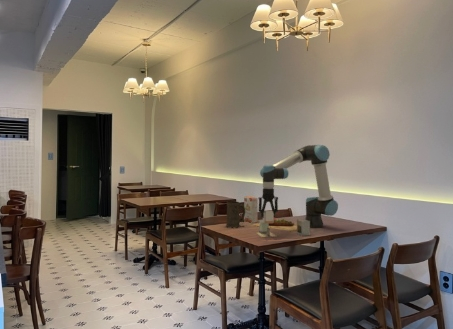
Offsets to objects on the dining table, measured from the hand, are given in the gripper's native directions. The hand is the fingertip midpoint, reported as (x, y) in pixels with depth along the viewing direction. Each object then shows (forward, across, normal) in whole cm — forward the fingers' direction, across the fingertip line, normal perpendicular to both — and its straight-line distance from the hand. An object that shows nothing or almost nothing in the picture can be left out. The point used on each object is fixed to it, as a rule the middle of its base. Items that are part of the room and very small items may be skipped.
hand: (268, 222), depth 244 cm
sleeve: (0, 0, 0) cm, 0 cm away
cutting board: (+11, -21, -34) cm, 41 cm away
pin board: (+11, 0, -5) cm, 11 cm away
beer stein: (+11, +11, -45) cm, 48 cm away
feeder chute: (+10, -28, -4) cm, 30 cm away
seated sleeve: (+9, 0, -9) cm, 13 cm away
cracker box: (+11, -7, -63) cm, 64 cm away
